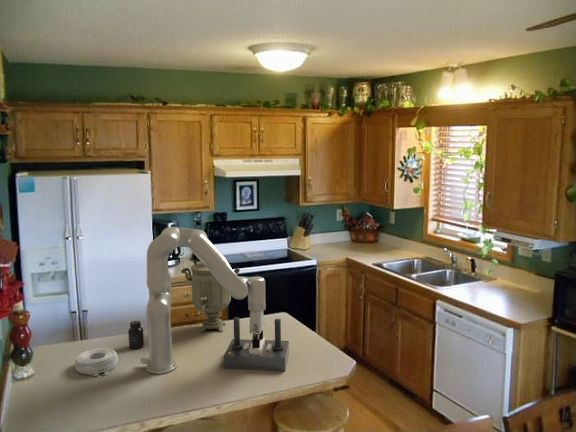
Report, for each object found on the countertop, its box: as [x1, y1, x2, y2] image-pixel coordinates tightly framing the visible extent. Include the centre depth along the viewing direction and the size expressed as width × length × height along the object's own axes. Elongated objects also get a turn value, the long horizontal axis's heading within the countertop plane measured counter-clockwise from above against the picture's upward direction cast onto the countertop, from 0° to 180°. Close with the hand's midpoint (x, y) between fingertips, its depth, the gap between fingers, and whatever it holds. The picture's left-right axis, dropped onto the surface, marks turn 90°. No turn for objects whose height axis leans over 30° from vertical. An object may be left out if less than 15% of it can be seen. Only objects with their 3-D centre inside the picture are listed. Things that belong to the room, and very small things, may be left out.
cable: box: [74, 347, 119, 377], centre depth 228 cm, size 18×18×6 cm
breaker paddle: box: [249, 337, 266, 355], centre depth 233 cm, size 5×13×7 cm, turn 175°
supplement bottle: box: [127, 320, 145, 350], centre depth 249 cm, size 7×7×12 cm
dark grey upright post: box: [232, 317, 243, 350], centre depth 232 cm, size 5×5×13 cm
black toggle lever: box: [272, 318, 283, 351], centre depth 231 cm, size 5×5×13 cm
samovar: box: [180, 259, 240, 333], centre depth 268 cm, size 30×26×40 cm
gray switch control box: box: [223, 338, 290, 372], centre depth 233 cm, size 26×18×7 cm
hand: (257, 343), depth 232 cm, fingers open, 9 cm apart
